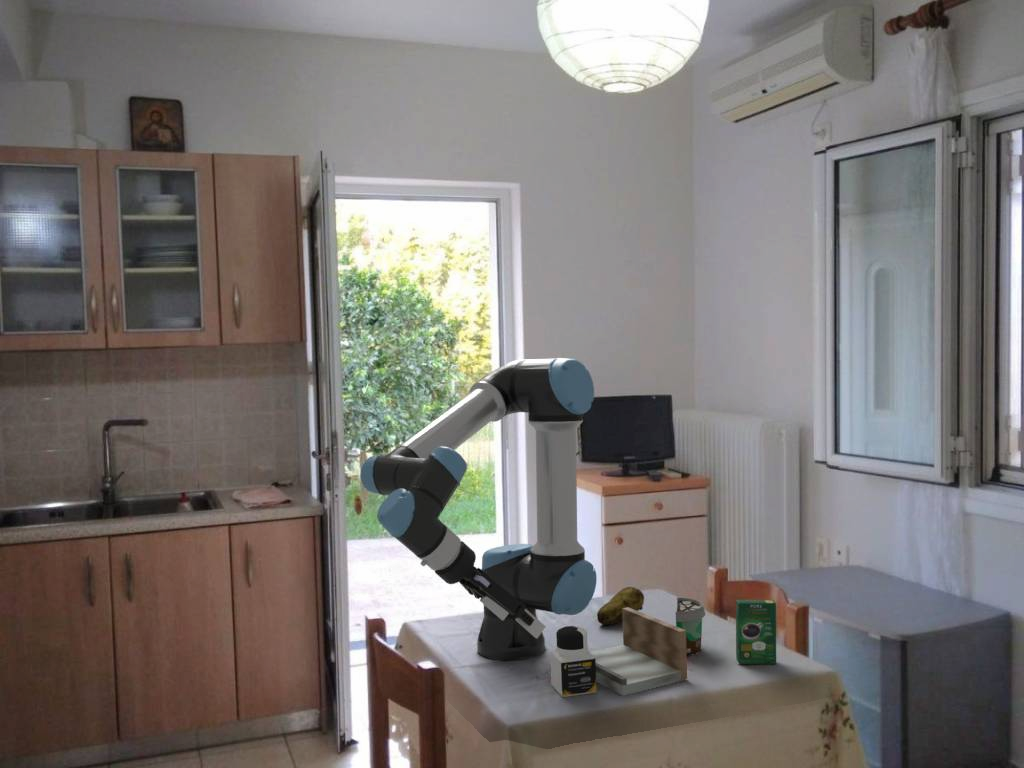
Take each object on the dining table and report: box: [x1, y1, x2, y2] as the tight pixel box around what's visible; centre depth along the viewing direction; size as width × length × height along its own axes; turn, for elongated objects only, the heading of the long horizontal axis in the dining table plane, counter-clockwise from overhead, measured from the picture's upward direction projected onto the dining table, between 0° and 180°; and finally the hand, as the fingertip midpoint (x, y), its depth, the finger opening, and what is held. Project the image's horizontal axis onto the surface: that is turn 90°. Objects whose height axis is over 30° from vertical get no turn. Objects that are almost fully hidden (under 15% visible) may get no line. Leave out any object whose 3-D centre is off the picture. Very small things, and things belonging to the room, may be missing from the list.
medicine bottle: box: [549, 625, 597, 698], centre depth 184 cm, size 7×7×12 cm
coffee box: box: [735, 599, 777, 665], centre depth 195 cm, size 8×3×13 cm, turn 86°
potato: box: [596, 586, 645, 626], centre depth 227 cm, size 8×13×8 cm, turn 105°
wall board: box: [589, 607, 688, 697], centre depth 192 cm, size 20×16×10 cm
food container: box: [675, 596, 706, 656], centre depth 205 cm, size 12×6×10 cm, turn 168°
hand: (523, 623), depth 179 cm, fingers open, 13 cm apart
